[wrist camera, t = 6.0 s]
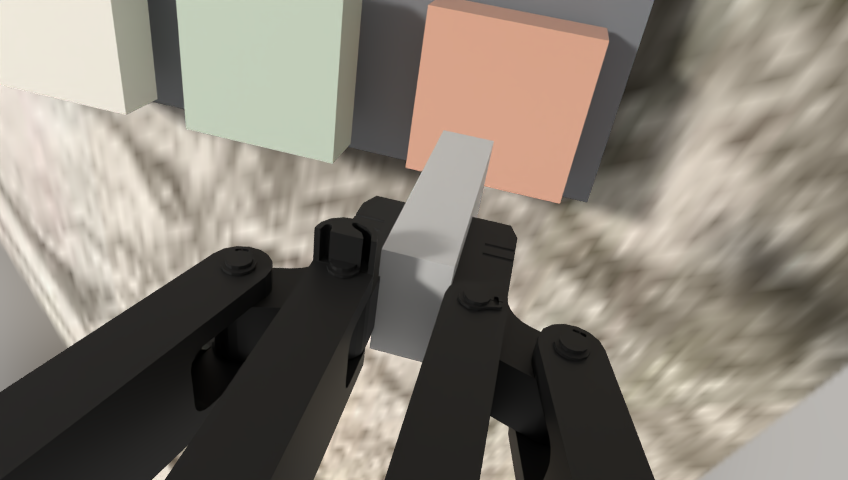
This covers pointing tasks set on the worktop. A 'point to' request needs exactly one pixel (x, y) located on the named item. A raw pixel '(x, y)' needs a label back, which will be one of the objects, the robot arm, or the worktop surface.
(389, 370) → the worktop surface
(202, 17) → the sage key
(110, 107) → the cream key
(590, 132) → the keypad board
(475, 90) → the terracotta key
